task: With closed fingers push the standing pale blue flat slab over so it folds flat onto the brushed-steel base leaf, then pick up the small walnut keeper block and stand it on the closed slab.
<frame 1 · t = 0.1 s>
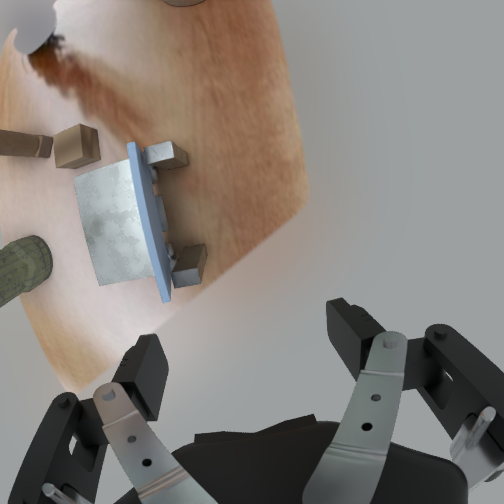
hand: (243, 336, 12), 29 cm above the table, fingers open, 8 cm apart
keeper block: (86, 149, 34), on the table
pale blue flat slab: (155, 217, 31), point 8 cm above the table, hinge at 100.0°
thermos: (37, 258, 38), on the table
wooden block: (32, 146, 33), on the table
base leaf: (162, 212, 38), on the table
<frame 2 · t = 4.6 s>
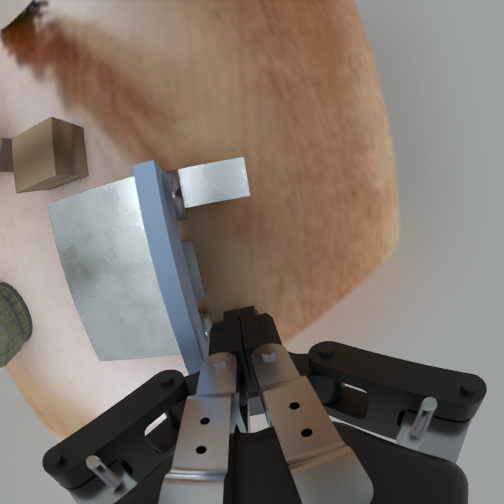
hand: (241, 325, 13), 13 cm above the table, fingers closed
keeper block: (66, 158, 21), on the table
pale blue flat slab: (192, 296, 17), point 8 cm above the table, hinge at 98.5°, touching gripper
thermos: (11, 312, 24), on the table
base leaf: (192, 263, 25), on the table
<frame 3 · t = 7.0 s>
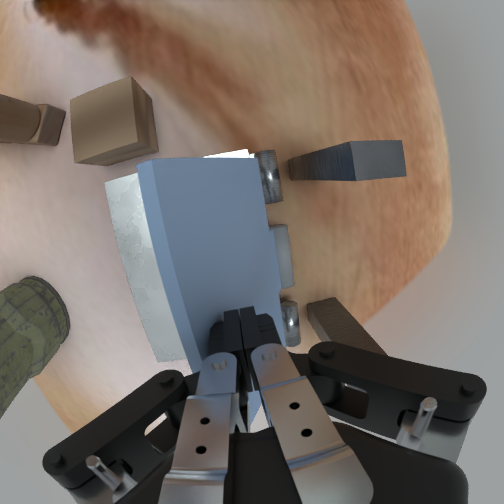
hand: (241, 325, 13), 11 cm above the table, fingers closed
keeper block: (128, 132, 20), on the table
pale blue flat slab: (255, 288, 17), point 7 cm above the table, hinge at 63.2°, touching gripper
thermos: (42, 310, 23), on the table
wooden block: (28, 127, 18), on the table
base leaf: (276, 250, 24), on the table
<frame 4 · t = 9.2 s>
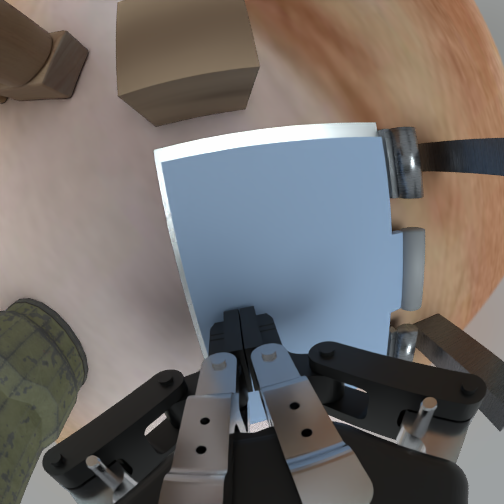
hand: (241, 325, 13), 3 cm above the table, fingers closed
keeper block: (194, 78, 13), on the table
pale blue flat slab: (330, 297, 14), point 3 cm above the table, hinge at 5.8°
thermos: (45, 346, 16), on the table
wooden block: (29, 80, 11), on the table
base leaf: (395, 260, 17), on the table
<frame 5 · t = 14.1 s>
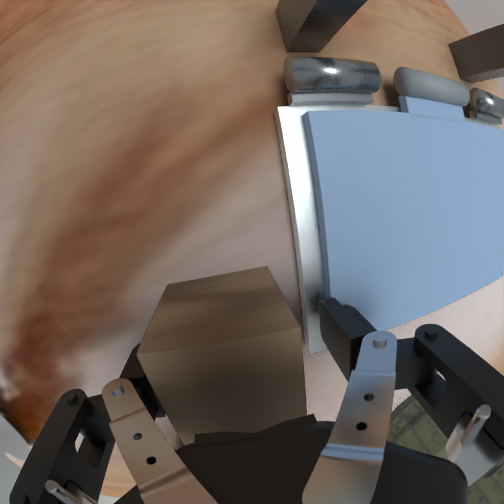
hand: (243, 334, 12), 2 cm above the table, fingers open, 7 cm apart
keeper block: (226, 319, 14), on the table
pale blue flat slab: (450, 194, 12), point 2 cm above the table, hinge at -0.3°, touching gripper
thermos: (414, 413, 19), on the table
base leaf: (414, 94, 12), on the table
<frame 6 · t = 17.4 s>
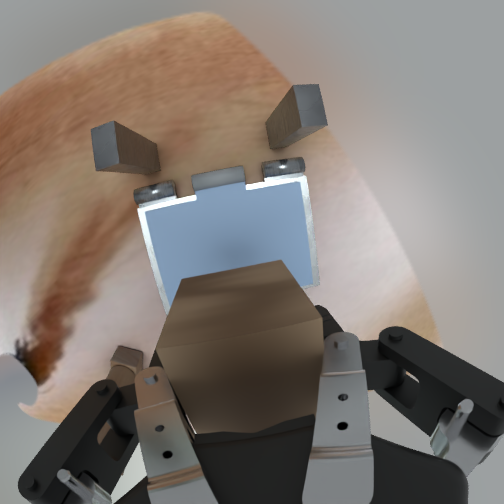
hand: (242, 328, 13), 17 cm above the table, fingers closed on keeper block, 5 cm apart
keeper block: (240, 313, 14), point 16 cm above the table, touching gripper
pale blue flat slab: (229, 237, 27), point 2 cm above the table, hinge at -0.4°
wooden block: (131, 375, 33), on the table
base leaf: (218, 178, 27), on the table
when the fingers open (4 cm above the table, at t = 20.4 s): keeper block stays where it is, resting on pale blue flat slab.
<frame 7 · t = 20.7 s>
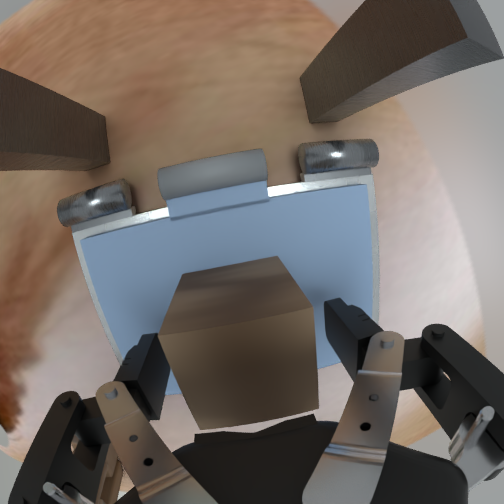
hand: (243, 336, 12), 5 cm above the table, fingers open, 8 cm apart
keeper block: (238, 307, 15), point 2 cm above the table, touching pale blue flat slab
pale blue flat slab: (235, 289, 14), point 2 cm above the table, hinge at -0.5°, touching base leaf, keeper block
wooden block: (104, 446, 20), on the table
base leaf: (214, 174, 14), on the table
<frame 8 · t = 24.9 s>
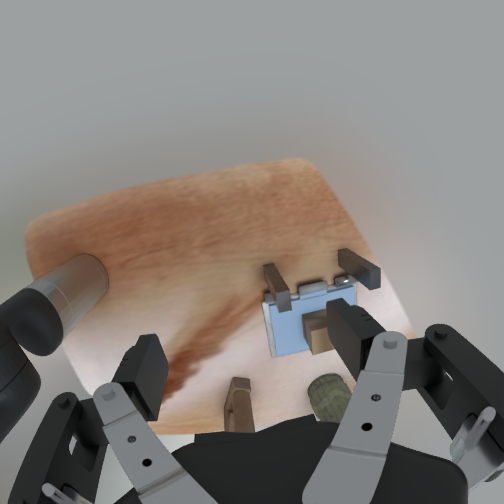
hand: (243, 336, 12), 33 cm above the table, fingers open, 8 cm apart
keeper block: (315, 322, 48), point 2 cm above the table, touching pale blue flat slab
pale blue flat slab: (315, 317, 48), point 2 cm above the table, hinge at -0.5°, touching base leaf, keeper block
thermos: (325, 386, 55), on the table
wooden block: (236, 394, 53), on the table
base leaf: (309, 284, 48), on the table
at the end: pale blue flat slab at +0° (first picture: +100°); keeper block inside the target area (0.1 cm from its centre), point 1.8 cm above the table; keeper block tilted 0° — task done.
